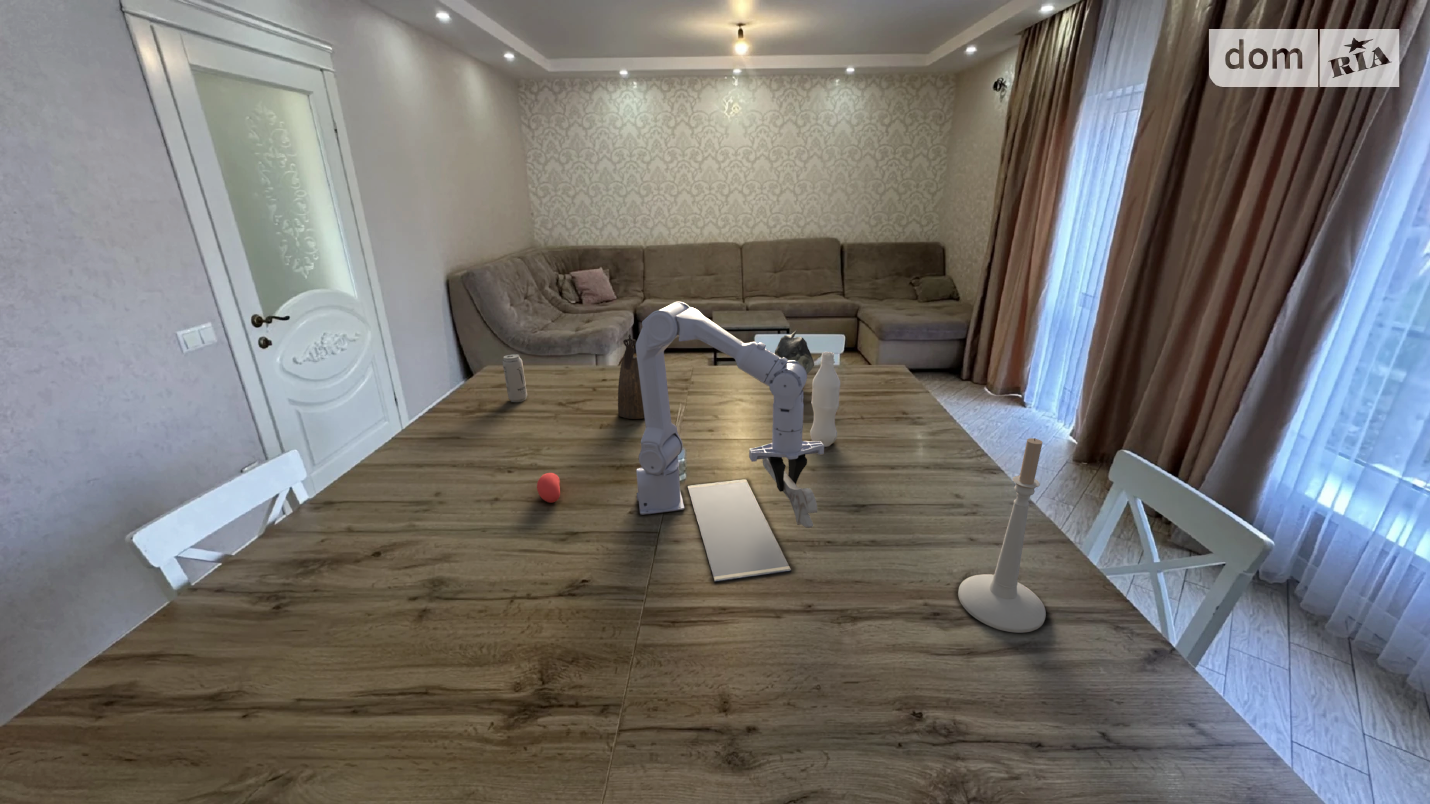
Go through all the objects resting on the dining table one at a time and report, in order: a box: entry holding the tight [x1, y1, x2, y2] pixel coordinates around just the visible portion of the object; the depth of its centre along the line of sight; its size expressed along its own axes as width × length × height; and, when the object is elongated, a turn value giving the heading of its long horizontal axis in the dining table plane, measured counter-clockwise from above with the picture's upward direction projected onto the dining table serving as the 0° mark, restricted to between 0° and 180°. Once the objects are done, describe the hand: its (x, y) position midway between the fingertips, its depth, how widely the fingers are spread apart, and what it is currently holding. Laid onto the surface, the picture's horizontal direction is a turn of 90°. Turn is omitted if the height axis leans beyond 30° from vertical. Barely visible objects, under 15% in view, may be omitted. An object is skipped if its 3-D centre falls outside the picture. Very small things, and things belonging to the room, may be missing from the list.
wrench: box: [762, 458, 819, 529], centre depth 109 cm, size 8×2×30 cm
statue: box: [617, 334, 645, 420], centre depth 163 cm, size 9×8×25 cm
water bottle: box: [809, 351, 841, 448], centre depth 144 cm, size 7×7×25 cm
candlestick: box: [957, 437, 1047, 634], centre depth 85 cm, size 13×13×30 cm
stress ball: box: [536, 472, 561, 504], centre depth 124 cm, size 5×9×6 cm, turn 4°
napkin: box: [687, 478, 792, 583], centre depth 113 cm, size 14×34×1 cm, turn 11°
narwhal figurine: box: [774, 328, 815, 375], centre depth 189 cm, size 14×15×18 cm
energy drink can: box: [502, 353, 528, 403], centre depth 180 cm, size 6×6×15 cm
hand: (785, 488), depth 109 cm, fingers closed on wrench, 2 cm apart
